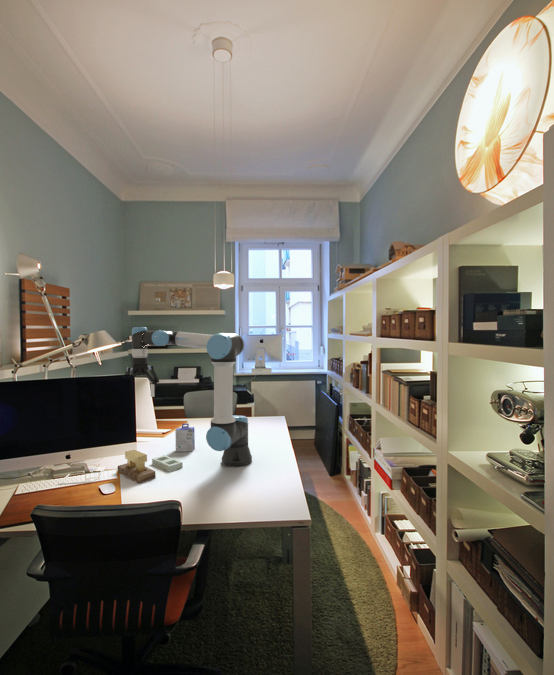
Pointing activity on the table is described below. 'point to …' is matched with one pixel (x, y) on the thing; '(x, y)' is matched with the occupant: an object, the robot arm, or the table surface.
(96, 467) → the photo frame
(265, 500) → the table surface
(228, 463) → the robot arm
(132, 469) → the walnut rail
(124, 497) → the table surface
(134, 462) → the tan block
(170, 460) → the holder block
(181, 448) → the ink cartridge box
